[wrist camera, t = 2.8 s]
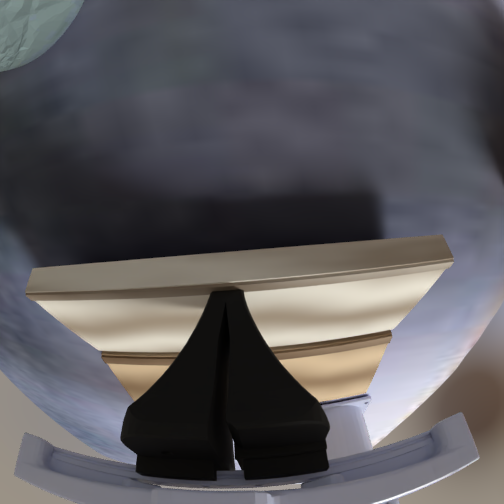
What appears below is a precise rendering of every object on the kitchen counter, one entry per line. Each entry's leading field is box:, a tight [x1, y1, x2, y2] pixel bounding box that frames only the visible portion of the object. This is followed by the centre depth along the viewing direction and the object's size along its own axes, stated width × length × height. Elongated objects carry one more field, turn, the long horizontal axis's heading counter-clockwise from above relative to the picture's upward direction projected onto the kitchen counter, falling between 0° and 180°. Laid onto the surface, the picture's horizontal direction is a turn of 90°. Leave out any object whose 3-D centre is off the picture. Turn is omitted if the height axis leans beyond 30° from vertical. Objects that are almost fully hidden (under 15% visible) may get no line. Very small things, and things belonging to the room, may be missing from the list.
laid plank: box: [101, 330, 392, 402], centre depth 22 cm, size 9×22×2 cm, turn 94°
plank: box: [25, 235, 454, 352], centre depth 16 cm, size 9×22×2 cm, turn 93°
